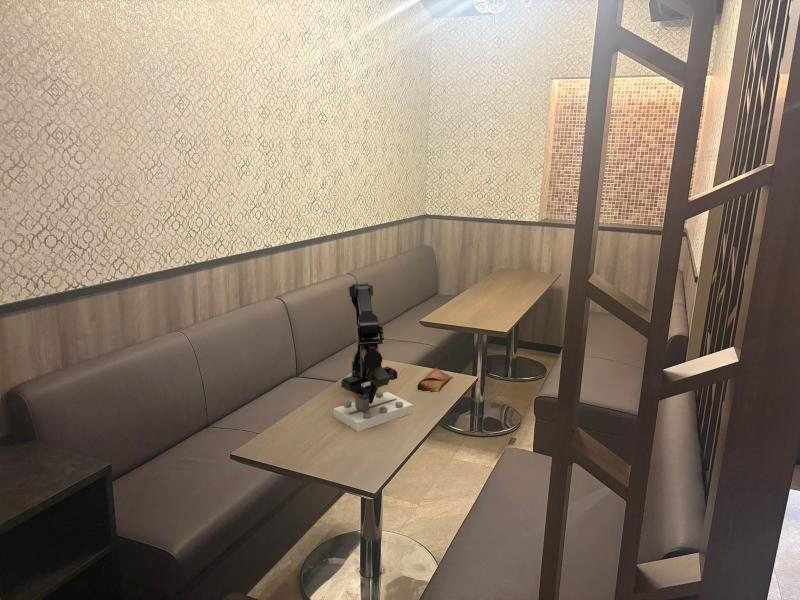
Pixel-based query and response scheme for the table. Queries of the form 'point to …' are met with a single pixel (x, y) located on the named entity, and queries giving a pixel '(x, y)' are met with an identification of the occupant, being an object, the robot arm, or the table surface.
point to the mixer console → (373, 411)
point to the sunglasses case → (434, 381)
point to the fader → (362, 403)
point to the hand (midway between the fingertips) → (370, 403)
